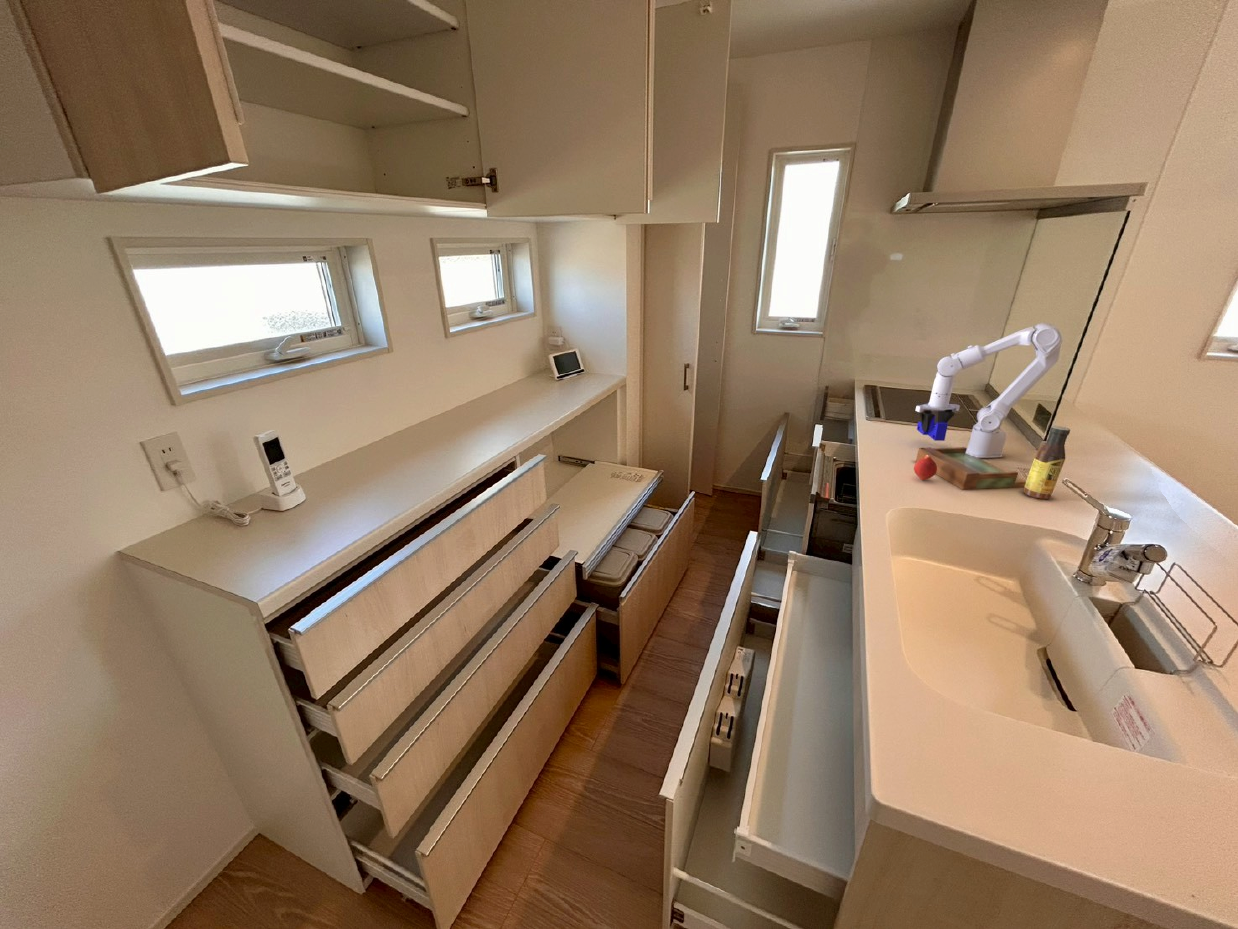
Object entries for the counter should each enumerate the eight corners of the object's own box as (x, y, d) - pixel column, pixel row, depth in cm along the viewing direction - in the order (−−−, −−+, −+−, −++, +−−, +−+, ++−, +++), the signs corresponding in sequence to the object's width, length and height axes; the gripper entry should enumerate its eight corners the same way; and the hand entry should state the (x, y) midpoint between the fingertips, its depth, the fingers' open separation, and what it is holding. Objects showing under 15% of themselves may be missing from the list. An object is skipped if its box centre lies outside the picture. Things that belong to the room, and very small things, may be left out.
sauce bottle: (1043, 502, 136) (1068, 433, 128) (1017, 493, 141) (1040, 426, 133) (1055, 497, 138) (1080, 429, 131) (1029, 488, 144) (1052, 423, 136)
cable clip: (916, 429, 180) (919, 413, 178) (930, 429, 180) (933, 413, 177) (929, 440, 169) (933, 423, 167) (944, 440, 169) (947, 423, 166)
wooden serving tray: (972, 459, 164) (976, 445, 162) (1026, 486, 145) (1031, 470, 143) (915, 462, 162) (918, 447, 160) (962, 489, 143) (967, 473, 141)
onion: (931, 477, 151) (937, 453, 148) (935, 485, 146) (942, 459, 143) (909, 475, 153) (915, 450, 150) (913, 482, 148) (919, 457, 145)
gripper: (952, 389, 173) (943, 426, 178) (913, 390, 172) (905, 428, 177) (967, 394, 166) (957, 432, 172) (927, 395, 165) (918, 434, 170)
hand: (932, 430), depth 174 cm, fingers closed on cable clip, 5 cm apart
